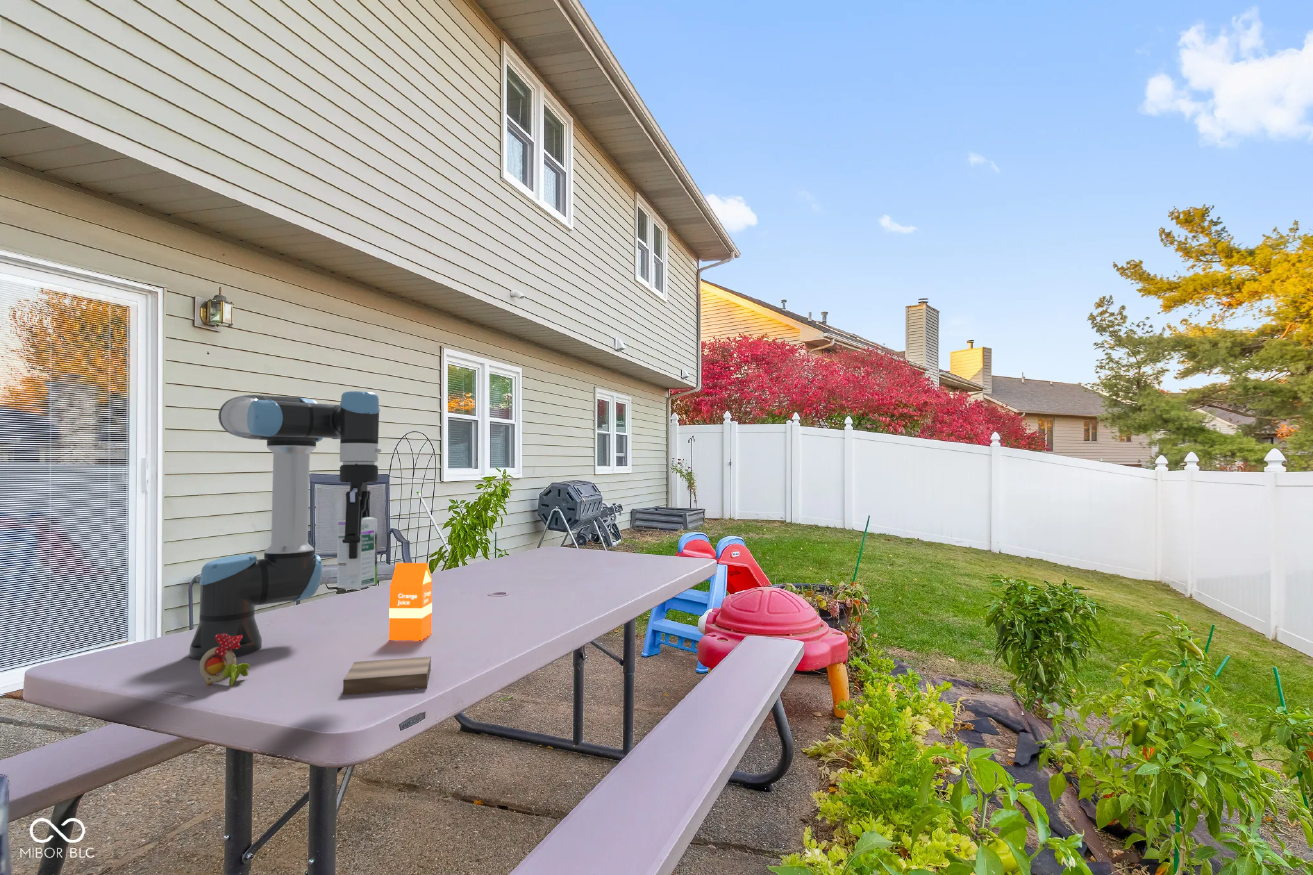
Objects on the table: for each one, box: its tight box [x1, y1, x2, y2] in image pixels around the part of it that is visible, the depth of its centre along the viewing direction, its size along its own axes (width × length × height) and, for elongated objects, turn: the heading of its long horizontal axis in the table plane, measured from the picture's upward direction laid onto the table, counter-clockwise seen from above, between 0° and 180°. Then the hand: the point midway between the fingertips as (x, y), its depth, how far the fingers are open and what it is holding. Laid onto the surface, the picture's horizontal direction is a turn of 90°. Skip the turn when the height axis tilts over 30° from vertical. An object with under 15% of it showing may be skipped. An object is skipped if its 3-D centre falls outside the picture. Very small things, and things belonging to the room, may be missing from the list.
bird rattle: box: [199, 633, 251, 687], centre depth 142 cm, size 6×11×9 cm
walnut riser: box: [342, 656, 432, 696], centre depth 143 cm, size 13×16×3 cm
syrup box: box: [336, 516, 378, 590], centre depth 142 cm, size 6×6×14 cm
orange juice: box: [388, 562, 433, 642], centre depth 181 cm, size 8×9×20 cm
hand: (357, 571), depth 142 cm, fingers closed on syrup box, 7 cm apart
